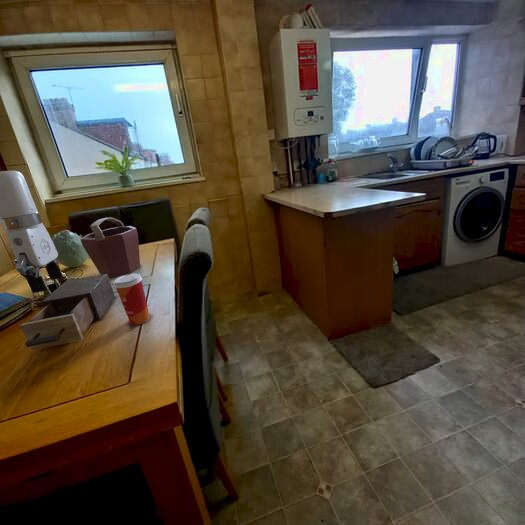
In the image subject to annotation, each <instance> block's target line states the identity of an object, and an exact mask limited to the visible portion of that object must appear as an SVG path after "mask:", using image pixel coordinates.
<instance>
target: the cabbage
mask: <svg viewBox="0 0 525 525" xmlns="http://www.w3.org/2000/svg"><path fill="white" fill-rule="evenodd" d="M83 237H84V236H83V235H82V234H80V235H78V234H77V232H72V231H70V230H68V229H63V230H61V231H59V232H57V233H54V235H52V237H51V239H52V241H53V244H54V246H55V248H56V250H57V253H58V256H57V261H58V264H60V265H62V266H64V267H67V268H77V267H81V266H83V265H84V264H85V263H86V262H87V261H88V260H89V258H90V257H89V255H88V254H87V252H86V250H85V249H84V247H83V245H82V243H81V240H80V239H81V238H83Z"/></svg>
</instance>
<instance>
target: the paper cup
mask: <svg viewBox="0 0 525 525" xmlns="http://www.w3.org/2000/svg"><path fill="white" fill-rule="evenodd" d="M113 288H115V290H116V292H117V294H118V297H119V299H120V303H121V304H122V308H123V309H124V312H125V314H126V316H127V319H128V321H129V323H130V325H132V326H139V325H142V324H145V323H147V322H148V321H149V320H150V319H151V317H150V311H149V307H148V301H147V298H146V294H145V290H144V284H143V277H142V276H141V275H140V273H128V274H125V275H120V276H118V277H117V278H115V280H114V281H113Z"/></svg>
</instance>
